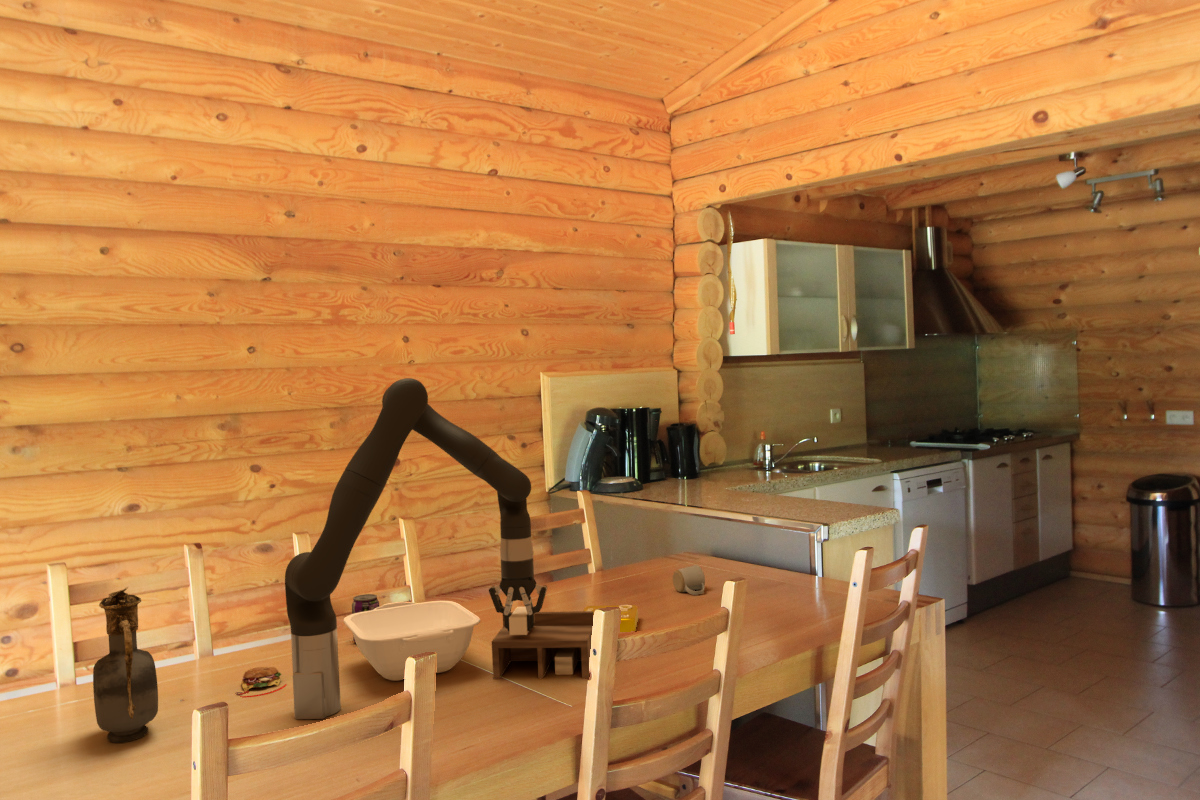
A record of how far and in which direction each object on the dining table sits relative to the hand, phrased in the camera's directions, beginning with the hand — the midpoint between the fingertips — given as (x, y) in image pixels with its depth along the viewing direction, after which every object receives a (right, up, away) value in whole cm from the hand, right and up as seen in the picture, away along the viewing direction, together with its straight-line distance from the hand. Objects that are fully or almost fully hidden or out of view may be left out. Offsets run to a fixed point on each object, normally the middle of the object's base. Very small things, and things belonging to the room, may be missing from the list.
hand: (519, 629), depth 207 cm
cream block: (0, -1, +3) cm, 3 cm away
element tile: (+21, -9, +37) cm, 44 cm away
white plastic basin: (-26, -11, +7) cm, 29 cm away
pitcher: (-75, -14, -30) cm, 82 cm away
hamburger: (-60, -13, -1) cm, 62 cm away
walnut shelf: (+6, -10, +3) cm, 12 cm away
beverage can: (-44, -11, +32) cm, 55 cm away
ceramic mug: (+47, -7, +72) cm, 86 cm away
